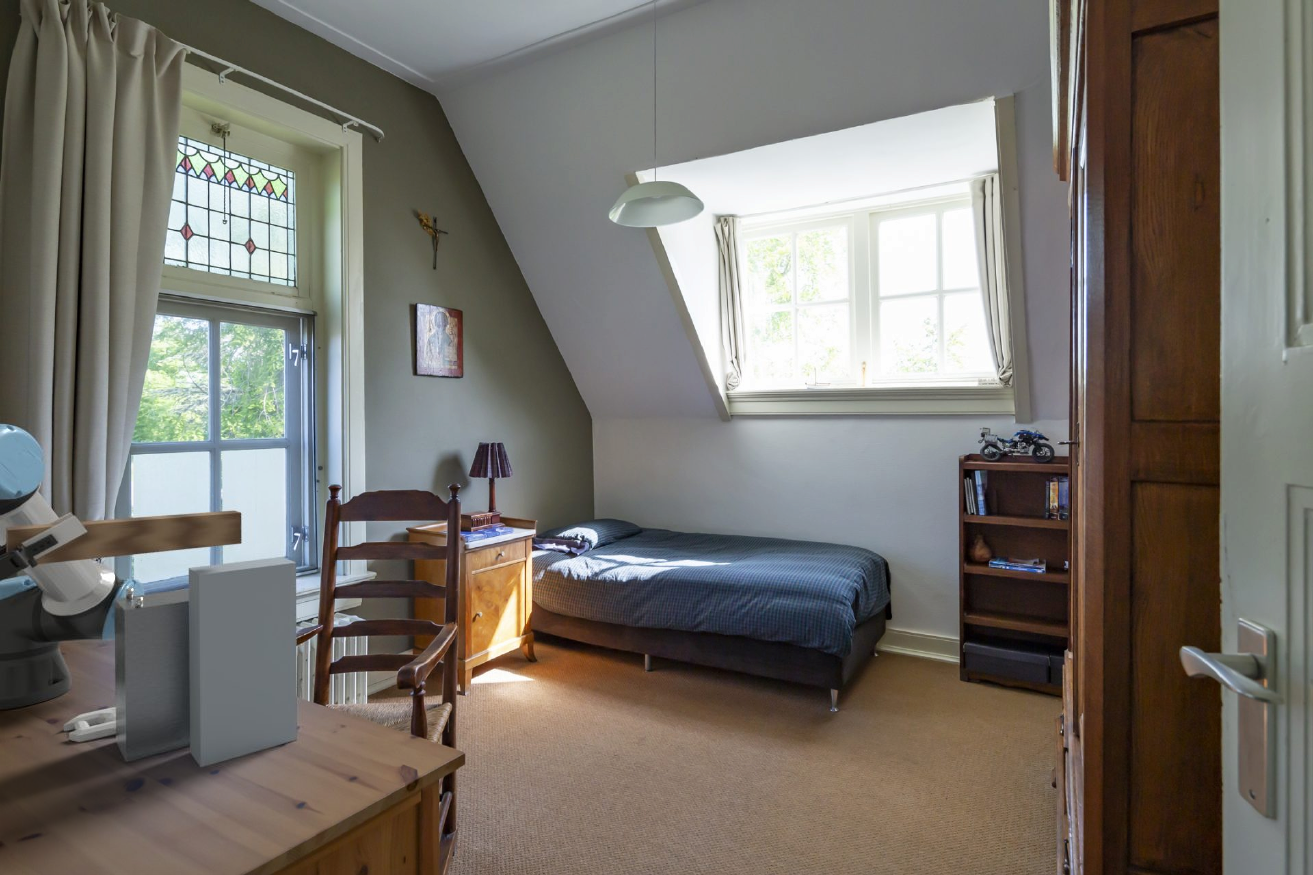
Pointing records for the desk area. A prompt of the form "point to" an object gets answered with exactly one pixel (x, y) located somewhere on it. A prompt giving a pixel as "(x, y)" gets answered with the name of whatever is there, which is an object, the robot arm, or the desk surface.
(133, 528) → the rail
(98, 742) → the desk surface
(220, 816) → the desk surface
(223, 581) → the stand
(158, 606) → the plate
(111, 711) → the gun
